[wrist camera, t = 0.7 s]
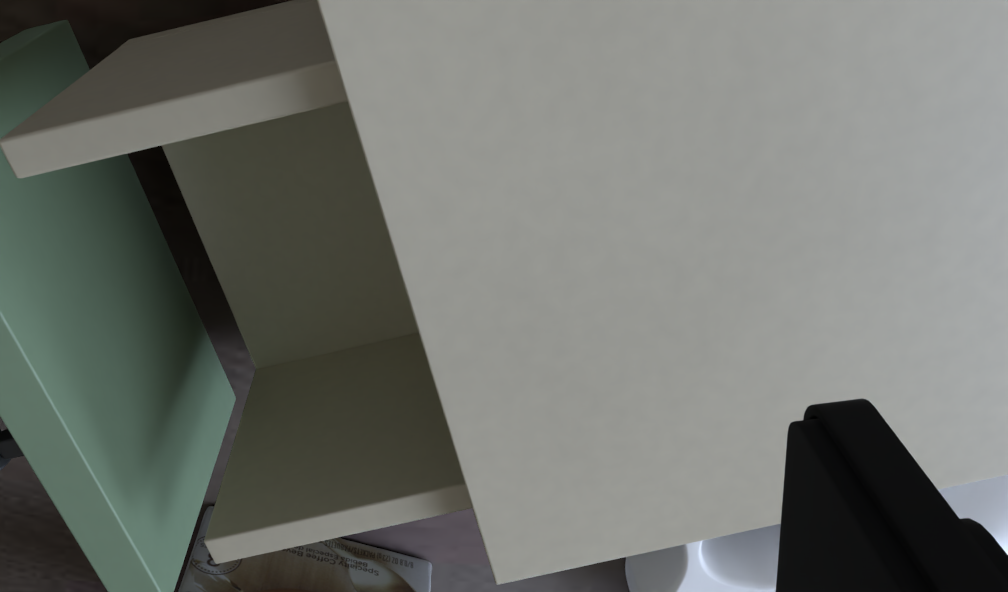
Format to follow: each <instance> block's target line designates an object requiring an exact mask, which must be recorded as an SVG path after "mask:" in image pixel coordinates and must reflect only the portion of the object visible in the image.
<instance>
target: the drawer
mask: <svg viewBox="0 0 1008 592" xmlns="http://www.w3.org/2000/svg"><path fill="white" fill-rule="evenodd" d="M157 146H162V148H163V150H164V153H165V155H166V157H167V160H168V162H169V164H170V167H171V169H172V172H173V174H174V176H175V179H176V181H177V183H178V186H179V188H180V190H181V193H182V195H183V198H184V200H185V202H186V205H187V207H188V209H189V212H190V214H191V216H192V219H193V221H194V223H195V226H196V228H197V231H198V233H199V235H200V238H201V240H202V242H203V245H204V247H205V249H206V252H207V254H208V257H209V259H210V261H211V264H212V266H213V268H214V271H215V273H216V275H217V278H218V280H219V283H220V285H221V287H222V290H223V292H224V294H225V297H226V299H227V301H228V304H229V306H230V309H231V311H232V313H233V316H234V318H235V320H236V323H237V325H238V327H239V330H240V332H241V335H242V337H243V339H244V342H245V344H246V346H247V349H248V351H249V353H250V356H251V358H252V361H253V363H254V365H255V368H256V371H255V374H254V377H253V381H252V384H251V387H250V391H249V394H248V397H247V401H246V404H245V407H244V411H243V414H242V417H241V420H240V424H239V427H238V430H237V434H236V437H235V440H234V444H233V447H232V450H231V453H230V457H229V460H228V463H227V467H226V470H225V473H224V477H223V480H222V483H221V486H220V490H219V493H218V496H217V500H216V503H215V506H214V510H213V513H212V516H211V519H210V523H209V526H208V529H207V533H206V536H205V539H204V543H205V545H206V547H207V549H208V551H209V552H210V554H211V556H212V558H213V560H214V562H215V563H216V564H219V563H223V562H228V561H232V560H237V559H241V558H246V557H251V556H255V555H260V554H264V553H269V552H273V551H278V550H283V549H287V548H292V547H296V546H301V545H305V544H310V543H315V542H319V541H324V540H328V539H333V538H337V537H342V536H347V535H351V534H356V533H360V532H365V531H369V530H374V529H379V528H383V527H388V526H392V525H397V524H401V523H406V522H411V521H415V520H420V519H424V518H429V517H433V516H438V515H443V514H447V513H452V512H456V511H461V510H465V509H470V508H472V504H471V501H470V498H469V495H468V491H467V488H466V485H465V482H464V478H463V475H462V472H461V469H460V465H459V462H458V459H457V456H456V452H455V449H454V446H453V443H452V439H451V436H450V433H449V429H448V426H447V423H446V420H445V416H444V413H443V410H442V407H441V403H440V400H439V397H438V394H437V390H436V387H435V384H434V381H433V377H432V374H431V371H430V368H429V364H428V361H427V358H426V355H425V351H424V348H423V345H422V342H421V338H420V335H419V332H418V329H417V325H416V322H415V319H414V315H413V312H412V309H411V306H410V302H409V299H408V296H407V293H406V289H405V286H404V283H403V280H402V276H401V273H400V270H399V267H398V263H397V260H396V257H395V254H394V250H393V247H392V244H391V241H390V237H389V234H388V231H387V228H386V224H385V221H384V218H383V215H382V211H381V208H380V205H379V201H378V198H377V195H376V192H375V188H374V185H373V182H372V179H371V175H370V172H369V169H368V166H367V162H366V159H365V156H364V153H363V149H362V146H361V143H360V140H359V136H358V133H357V130H356V127H355V123H354V120H353V117H352V114H351V110H350V107H349V104H348V101H347V97H346V94H345V91H344V87H343V84H342V81H341V78H340V74H339V71H338V68H337V65H336V61H335V58H334V55H333V52H332V48H331V45H330V42H329V39H328V35H327V32H326V29H325V26H324V22H323V19H322V16H321V13H320V9H319V6H318V3H317V0H292V1H287V2H283V3H279V4H275V5H271V6H267V7H262V8H258V9H254V10H250V11H246V12H242V13H237V14H233V15H229V16H225V17H221V18H217V19H212V20H208V21H204V22H200V23H196V24H192V25H187V26H183V27H179V28H175V29H171V30H166V31H162V32H158V33H154V34H150V35H146V36H141V37H137V38H133V39H129V40H128V41H127V42H125V43H124V44H123V45H121V46H120V47H119V48H118V49H117V50H115V51H114V52H113V53H112V54H110V55H109V56H108V57H106V58H105V59H104V60H102V61H101V62H100V63H99V64H97V65H96V66H95V67H93V68H92V69H91V70H90V69H89V67H88V64H87V62H86V60H85V58H84V55H83V53H82V51H81V49H80V46H79V44H78V42H77V40H76V37H75V35H74V33H73V31H72V29H71V26H70V24H69V22H68V20H62V21H58V22H54V23H49V24H45V25H41V26H37V27H33V28H29V29H25V30H24V31H22V32H20V33H18V34H16V35H14V36H12V37H11V38H9V39H7V40H5V41H3V42H1V43H0V417H1V419H2V420H3V422H4V424H5V425H6V427H7V428H8V429H6V430H3V431H1V429H0V470H1V469H2V468H3V467H5V466H6V465H7V464H8V462H9V461H10V460H11V458H16V457H20V456H25V458H26V459H27V461H28V463H29V464H30V466H31V468H32V469H33V471H34V472H35V474H36V476H37V477H38V479H39V481H40V482H41V484H42V485H43V487H44V489H45V490H46V492H47V494H48V495H49V497H50V499H51V500H52V502H53V503H54V505H55V507H56V508H57V510H58V512H59V513H60V515H61V516H62V518H63V520H64V521H65V523H66V525H67V526H68V528H69V529H70V531H71V533H72V534H73V536H74V538H75V539H76V541H77V543H78V544H79V546H80V547H81V549H82V551H83V552H84V554H85V556H86V557H87V559H88V560H89V562H90V564H91V565H92V567H93V569H94V570H95V572H96V573H97V575H98V577H99V578H100V580H101V582H102V583H103V585H104V587H105V588H106V590H107V591H108V592H174V590H175V586H176V583H177V580H178V577H179V574H180V571H181V568H182V565H183V562H184V558H185V555H186V552H187V549H188V546H189V543H190V540H191V537H192V534H193V530H194V527H195V524H196V521H197V518H198V515H199V512H200V509H201V506H202V503H203V499H204V496H205V493H206V490H207V487H208V484H209V481H210V478H211V475H212V471H213V468H214V465H215V462H216V459H217V456H218V453H219V450H220V447H221V443H222V440H223V437H224V434H225V431H226V428H227V425H228V422H229V419H230V416H231V412H232V409H233V406H234V403H235V400H236V397H235V395H234V392H233V390H232V388H231V386H230V383H229V381H228V379H227V377H226V374H225V372H224V370H223V368H222V365H221V363H220V361H219V359H218V356H217V354H216V352H215V350H214V347H213V345H212V343H211V341H210V338H209V336H208V334H207V332H206V330H205V327H204V325H203V323H202V321H201V318H200V316H199V314H198V312H197V309H196V307H195V305H194V303H193V300H192V298H191V296H190V294H189V291H188V289H187V287H186V285H185V282H184V280H183V278H182V276H181V273H180V271H179V269H178V267H177V264H176V262H175V260H174V258H173V255H172V253H171V251H170V249H169V246H168V244H167V242H166V240H165V237H164V235H163V233H162V231H161V228H160V226H159V224H158V222H157V219H156V217H155V215H154V213H153V210H152V208H151V206H150V204H149V201H148V199H147V197H146V195H145V192H144V190H143V188H142V186H141V183H140V181H139V179H138V177H137V175H136V172H135V170H134V168H133V166H132V163H131V161H130V159H129V157H128V154H127V153H131V152H136V151H140V150H144V149H148V148H153V147H157Z"/></svg>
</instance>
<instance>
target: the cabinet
mask: <svg viewBox="0 0 1008 592" xmlns="http://www.w3.org/2000/svg"><path fill="white" fill-rule="evenodd" d="M317 3H318V6H319V9H320V13H321V16H322V19H323V22H324V26H325V29H326V32H327V35H328V39H329V42H330V45H331V48H332V52H333V55H334V58H335V61H336V65H337V68H338V71H339V74H340V78H341V81H342V84H343V87H344V91H345V94H346V97H347V101H348V104H349V107H350V110H351V114H352V117H353V120H354V123H355V127H356V130H357V133H358V136H359V140H360V143H361V146H362V149H363V153H364V156H365V159H366V162H367V166H368V169H369V172H370V175H371V179H372V182H373V185H374V188H375V192H376V195H377V198H378V201H379V205H380V208H381V211H382V215H383V218H384V221H385V224H386V228H387V231H388V234H389V237H390V241H391V244H392V247H393V250H394V254H395V257H396V260H397V263H398V267H399V270H400V273H401V276H402V280H403V283H404V286H405V289H406V293H407V296H408V299H409V302H410V306H411V309H412V312H413V315H414V319H415V322H416V325H417V329H418V332H419V335H420V338H421V342H422V345H423V348H424V351H425V355H426V358H427V361H428V364H429V368H430V371H431V374H432V377H433V381H434V384H435V387H436V390H437V394H438V397H439V400H440V403H441V407H442V410H443V413H444V416H445V420H446V423H447V426H448V429H449V433H450V436H451V439H452V443H453V446H454V449H455V452H456V456H457V459H458V462H459V465H460V469H461V472H462V475H463V478H464V482H465V485H466V488H467V491H468V495H469V498H470V501H471V504H472V508H473V511H474V514H475V517H476V521H477V524H478V527H479V530H480V534H481V537H482V540H483V543H484V547H485V550H486V553H487V557H488V560H489V563H490V566H491V570H492V573H493V576H494V579H495V583H496V584H503V583H507V582H512V581H517V580H521V579H526V578H531V577H535V576H540V575H544V574H549V573H554V572H558V571H563V570H568V569H572V568H577V567H582V566H586V565H591V564H595V563H600V562H605V561H609V560H614V559H619V558H623V557H628V556H633V555H637V554H642V553H647V552H651V551H656V550H660V549H665V548H670V547H674V546H679V545H684V544H688V543H693V542H698V541H702V540H707V539H711V538H716V537H721V536H725V535H730V534H735V533H739V532H744V531H749V530H753V529H758V528H762V527H767V526H772V525H776V524H781V514H782V501H783V487H784V474H785V460H786V447H787V434H788V428H789V425H790V423H791V422H794V421H801V420H803V418H804V413H805V411H806V409H807V407H808V406H810V405H814V404H822V403H830V402H838V401H846V400H854V399H862V398H863V399H866V400H869V401H870V402H871V403H872V404H873V405H874V406H875V408H876V409H877V410H878V412H879V413H880V414H881V416H882V417H883V418H884V420H885V421H886V422H887V424H888V425H889V426H890V428H891V429H892V430H893V432H894V433H895V434H896V435H897V437H898V438H899V439H900V441H901V442H902V443H903V445H904V446H905V447H906V449H907V450H908V451H909V453H910V454H911V455H912V457H913V458H914V459H915V461H916V462H917V463H918V464H919V466H920V467H921V468H922V470H923V471H924V472H925V474H926V475H927V476H928V478H929V479H930V480H931V482H932V483H933V484H934V486H935V487H936V488H937V490H939V489H943V488H948V487H953V486H957V485H962V484H967V483H971V482H976V481H981V480H985V479H990V478H994V477H999V476H1004V475H1008V0H317Z"/></svg>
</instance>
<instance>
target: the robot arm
mask: <svg viewBox="0 0 1008 592" xmlns="http://www.w3.org/2000/svg"><path fill="white" fill-rule="evenodd" d="M776 592H1008V555H1007V554H1006V552H1005V551H1004V550H1003V548H1002V547H1001V546H1000V545H999V543H998V542H997V541H996V540H995V538H994V537H993V536H992V535H991V534H990V533H989V532H988V531H987V530H986V529H985V528H984V527H983V526H982V525H981V524H980V523H978V522H976V521H974V520H972V519H970V518H963V519H959V517H958V516H957V515H956V513H955V512H954V511H953V509H952V508H951V507H950V505H949V504H948V503H947V501H946V500H945V499H944V497H943V496H942V495H941V494H940V492H939V491H938V490H937V488H936V487H935V486H934V484H933V483H932V482H931V480H930V479H929V478H928V476H927V475H926V474H925V472H924V471H923V470H922V468H921V467H920V466H919V464H918V463H917V462H916V461H915V459H914V458H913V457H912V455H911V454H910V453H909V451H908V450H907V449H906V447H905V446H904V445H903V443H902V442H901V441H900V439H899V438H898V437H897V435H896V434H895V433H894V432H893V430H892V429H891V428H890V426H889V425H888V424H887V422H886V421H885V420H884V418H883V417H882V416H881V414H880V413H879V412H878V410H877V409H876V408H875V406H874V405H873V404H872V403H871V402H870V401H869V400H866V399H863V398H862V399H854V400H846V401H838V402H830V403H822V404H814V405H810V406H808V407H807V409H806V411H805V413H804V418H803V420H801V421H794V422H791V423H790V425H789V428H788V434H787V447H786V460H785V474H784V487H783V501H782V514H781V527H780V541H779V554H778V567H777V581H776Z"/></svg>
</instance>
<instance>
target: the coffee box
mask: <svg viewBox="0 0 1008 592" xmlns="http://www.w3.org/2000/svg"><path fill="white" fill-rule="evenodd" d="M213 510H214V506H209V507H208V508H207V510H206V511H205V513H204V516H203V519H202V522H201V525H200V529H199V532H198V535H197V538H196V541H195V544H194V547H193V550H192V553H191V556H190V559H189V561H188V564H187V567H186V570H185V573H184V576H183V579H182V582H181V585H180V588H179V590H178V592H430V583H431V569H432V564H431V563H430V562H429V561H426V560H422V559H418V558H415V557H411V556H407V555H403V554H399V553H395V552H391V551H388V550H384V549H380V548H376V547H372V546H368V545H364V544H360V543H356V542H353V541H349V540H345V539H341V538H333V539H328V540H324V541H319V542H315V543H310V544H305V545H301V546H296V547H292V548H287V549H283V550H278V551H273V552H269V553H264V554H260V555H255V556H251V557H246V558H241V559H237V560H232V561H228V562H223V563H219V564H216V563H215V562H214V560H213V558H212V556H211V554H210V552H209V551H208V549H207V547H206V545H205V543H204V539H205V536H206V533H207V529H208V526H209V523H210V519H211V516H212V513H213Z"/></svg>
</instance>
